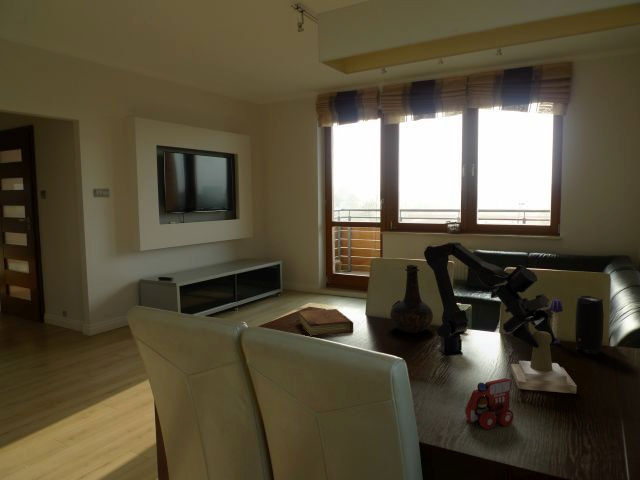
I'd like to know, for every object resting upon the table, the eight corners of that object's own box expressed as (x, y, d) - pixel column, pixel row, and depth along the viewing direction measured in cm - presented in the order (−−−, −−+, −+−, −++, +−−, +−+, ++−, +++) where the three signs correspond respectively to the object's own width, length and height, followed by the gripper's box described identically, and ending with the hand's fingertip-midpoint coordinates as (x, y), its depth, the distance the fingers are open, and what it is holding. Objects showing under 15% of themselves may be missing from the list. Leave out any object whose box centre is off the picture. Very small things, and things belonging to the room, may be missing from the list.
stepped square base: (518, 388, 131) (518, 375, 131) (510, 370, 146) (511, 358, 145) (576, 393, 127) (576, 379, 127) (562, 374, 142) (562, 361, 141)
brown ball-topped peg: (555, 368, 136) (556, 332, 135) (547, 373, 132) (548, 336, 131) (535, 363, 140) (536, 328, 140) (526, 367, 136) (527, 331, 136)
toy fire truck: (458, 420, 113) (458, 379, 112) (499, 411, 117) (499, 372, 116) (476, 433, 106) (477, 389, 106) (519, 424, 110) (519, 382, 110)
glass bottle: (401, 322, 206) (401, 261, 204) (439, 328, 196) (439, 263, 194) (382, 331, 192) (382, 266, 190) (422, 338, 181) (423, 269, 179)
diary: (353, 334, 191) (353, 320, 191) (310, 338, 187) (309, 324, 186) (338, 320, 213) (337, 308, 213) (299, 323, 209) (298, 311, 208)
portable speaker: (582, 355, 159) (584, 300, 157) (569, 347, 168) (571, 294, 166) (608, 355, 158) (609, 300, 156) (594, 347, 167) (595, 294, 166)
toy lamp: (558, 341, 175) (559, 298, 174) (564, 345, 170) (565, 301, 169) (545, 341, 175) (546, 298, 174) (550, 344, 171) (551, 301, 169)
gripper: (512, 289, 132) (548, 335, 124) (547, 282, 143) (583, 324, 134) (488, 311, 139) (521, 356, 131) (523, 303, 150) (555, 344, 142)
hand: (546, 344), depth 134 cm, fingers open, 9 cm apart
